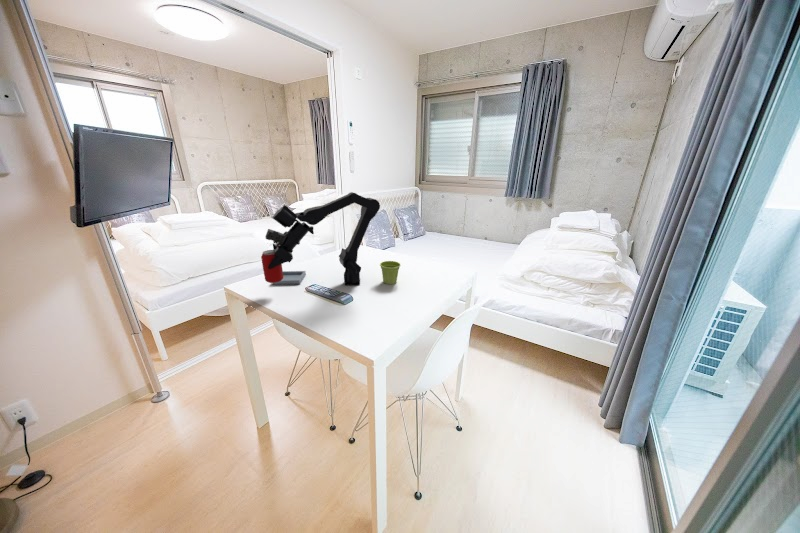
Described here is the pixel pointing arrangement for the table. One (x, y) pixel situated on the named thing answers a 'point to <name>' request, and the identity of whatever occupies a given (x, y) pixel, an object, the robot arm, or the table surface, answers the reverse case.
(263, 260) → the beverage can
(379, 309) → the table surface
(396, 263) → the plant pot
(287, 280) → the slate tray
